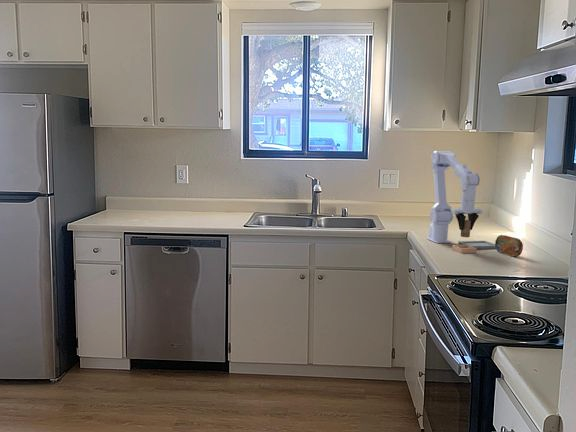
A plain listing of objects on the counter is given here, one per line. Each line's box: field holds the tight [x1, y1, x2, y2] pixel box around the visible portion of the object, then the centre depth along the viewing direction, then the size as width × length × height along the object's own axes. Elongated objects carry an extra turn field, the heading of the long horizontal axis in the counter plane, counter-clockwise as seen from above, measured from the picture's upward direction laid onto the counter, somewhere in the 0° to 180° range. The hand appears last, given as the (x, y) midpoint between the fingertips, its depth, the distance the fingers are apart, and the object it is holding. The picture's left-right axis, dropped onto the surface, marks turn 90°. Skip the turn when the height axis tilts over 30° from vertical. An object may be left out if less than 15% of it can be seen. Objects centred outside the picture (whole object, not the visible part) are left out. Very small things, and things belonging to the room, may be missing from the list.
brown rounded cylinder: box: [460, 219, 471, 238], centre depth 259 cm, size 4×4×8 cm
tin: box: [494, 234, 524, 257], centre depth 256 cm, size 15×3×8 cm, turn 21°
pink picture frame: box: [451, 244, 477, 254], centre depth 260 cm, size 8×8×2 cm
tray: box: [457, 240, 496, 250], centre depth 272 cm, size 11×15×2 cm
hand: (465, 229), depth 259 cm, fingers closed on brown rounded cylinder, 4 cm apart
